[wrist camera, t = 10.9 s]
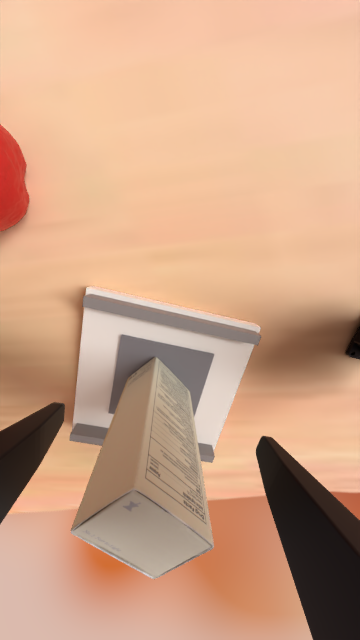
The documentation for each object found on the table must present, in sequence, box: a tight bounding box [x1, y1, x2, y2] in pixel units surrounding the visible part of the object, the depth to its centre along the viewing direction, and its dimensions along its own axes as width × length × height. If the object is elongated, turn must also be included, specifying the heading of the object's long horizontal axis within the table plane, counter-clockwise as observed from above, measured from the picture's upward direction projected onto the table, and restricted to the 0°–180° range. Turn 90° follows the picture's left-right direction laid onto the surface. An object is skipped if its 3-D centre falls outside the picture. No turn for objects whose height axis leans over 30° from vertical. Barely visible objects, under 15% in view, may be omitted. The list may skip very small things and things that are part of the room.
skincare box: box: [71, 357, 214, 579], centre depth 15 cm, size 6×4×12 cm
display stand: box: [70, 286, 261, 463], centre depth 21 cm, size 18×18×3 cm
